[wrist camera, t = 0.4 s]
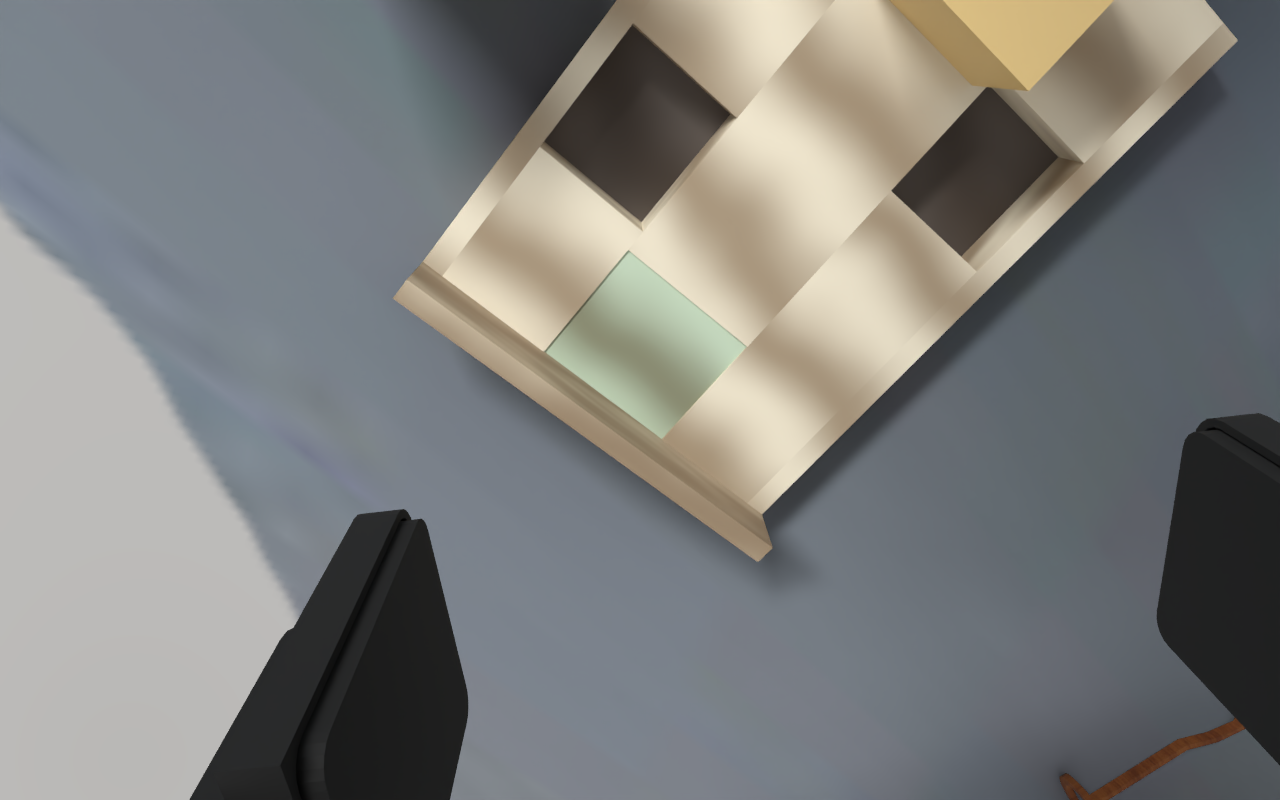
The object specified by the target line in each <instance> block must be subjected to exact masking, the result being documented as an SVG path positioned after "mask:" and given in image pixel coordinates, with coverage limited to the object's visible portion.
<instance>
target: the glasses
mask: <svg viewBox="0 0 1280 800" xmlns="http://www.w3.org/2000/svg"><path fill="white" fill-rule="evenodd" d="M1244 729H1245V727H1244V726H1243V725H1242V724H1241V723H1240V722H1239V721H1238V720H1237V719H1236V718H1234V721H1232V722H1229V723H1227V724H1225V725H1222V726H1220V727H1218V728H1215V729H1213V730H1211V731H1208V732H1205V733H1201V734H1197V735H1193V736H1189V737H1185V738H1181V739H1177V740H1176V741H1174V742H1173V743H1171V744H1169V745H1168V746H1166V747H1165V748H1163V749H1161V750H1160V751H1158V752H1157V753H1155V754H1154V755H1152V756H1150V757H1149V758H1147V759H1146V760H1144V761H1142V762H1141V763H1139V764H1138V765H1136V766H1134V767H1133V768H1131V769H1130V770H1128V771H1127V772H1125V773H1123V774H1122V775H1120V776H1119V777H1117V778H1115V779H1114V780H1112V781H1111V782H1109V783H1107V784H1106V785H1104V786H1103V787H1101V788H1100V789H1098V790H1096V791H1095V792H1093V793H1092V794H1090V795H1089V794H1088V793H1087V791H1086V790H1085V789H1084V788H1083V787H1082V786H1081V785H1080V784H1079V783H1078V782H1077V781H1076V780H1075V779H1074V778H1072V777H1071V776H1070V775H1069V774H1067V773H1065V774H1063V775H1062V776H1060V782H1061V784H1062V786H1063V788H1064V790H1065V792H1066V794H1067V796H1068V797H1069V799H1070V800H1079V799H1078V798H1077V796H1076V794H1075V792H1074V790H1075V791H1076V792H1077V793H1078V794H1079V795H1080V797H1081V798H1082V799H1083V800H1109V799H1110V798H1112V797H1114V796H1115V795H1117V794H1118V793H1120V792H1121V791H1123V790H1125V789H1126V788H1128V787H1129V786H1131V785H1133V784H1134V783H1136V782H1137V781H1139V780H1141V779H1142V778H1144V777H1145V776H1147V775H1148V774H1150V773H1152V772H1153V771H1155V770H1156V769H1158V768H1160V767H1161V766H1163V765H1164V764H1166V763H1167V762H1169V761H1171V760H1172V759H1174V758H1175V757H1177V756H1179V755H1180V754H1182V753H1183V752H1185V751H1186V750H1189V749H1193V748H1197V747H1201V746H1205V745H1209V744H1212V743H1216V742H1219V741H1221V740H1223V739H1225V738H1227V737H1229V736H1231V735H1234V734H1236V733H1238V732H1240V731H1242V730H1244Z"/></svg>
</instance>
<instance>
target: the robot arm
mask: <svg viewBox="0 0 1280 800" xmlns="http://www.w3.org/2000/svg"><path fill="white" fill-rule="evenodd" d="M1157 623H1158V627H1159V630H1160V633H1161V635H1162V637H1163V639H1164V641H1165V642H1166V643H1167V645H1168V646H1169V647H1170V648H1171V649H1172V650H1173V651H1174V652H1175V654H1176V655H1177V656H1178V657H1179V658H1180V659H1181V660H1182V661H1183V662H1184V663H1185V664H1186V665H1187V666H1188V667H1189V669H1190V670H1191V671H1192V672H1193V673H1194V674H1195V675H1196V676H1197V677H1198V678H1199V679H1200V680H1201V681H1202V682H1203V684H1204V685H1205V686H1206V687H1207V688H1208V689H1209V690H1210V691H1211V692H1212V693H1213V694H1214V695H1215V696H1216V697H1217V699H1218V700H1219V701H1220V702H1221V703H1222V704H1223V705H1224V706H1225V707H1226V708H1227V709H1228V710H1229V711H1230V712H1231V714H1232V715H1233V716H1234V717H1235V718H1236V719H1237V720H1238V721H1239V722H1240V723H1241V724H1242V725H1243V726H1244V727H1245V729H1246V730H1247V731H1248V732H1249V733H1250V734H1251V735H1252V736H1253V737H1254V738H1255V739H1256V740H1257V741H1258V742H1259V744H1260V745H1261V746H1262V747H1263V748H1264V749H1265V750H1266V751H1267V752H1268V753H1269V754H1270V755H1271V756H1272V757H1273V759H1274V760H1275V761H1276V762H1277V763H1278V764H1279V765H1280V423H1278V422H1277V421H1275V420H1273V419H1271V418H1269V417H1268V416H1265V415H1262V414H1259V413H1258V414H1247V415H1238V416H1229V417H1220V418H1212V419H1206V420H1205V421H1203V422H1202V423H1201V424H1200V425H1199V426H1198V428H1197V429H1196V432H1193V433H1191V434H1190V435H1188V437H1187V438H1186V439H1185V442H1184V446H1183V451H1182V457H1181V463H1180V470H1179V476H1178V482H1177V489H1176V495H1175V501H1174V508H1173V514H1172V520H1171V526H1170V533H1169V539H1168V545H1167V552H1166V558H1165V564H1164V571H1163V577H1162V583H1161V589H1160V596H1159V602H1158V608H1157ZM467 718H468V694H467V688H466V684H465V679H464V675H463V671H462V667H461V663H460V659H459V655H458V651H457V647H456V643H455V639H454V635H453V631H452V626H451V622H450V618H449V614H448V610H447V606H446V602H445V598H444V594H443V590H442V586H441V582H440V577H439V573H438V569H437V565H436V561H435V557H434V553H433V549H432V545H431V541H430V537H429V533H428V529H427V526H426V524H425V522H424V520H422V519H416V520H411V517H410V515H409V514H408V512H407V511H406V510H404V509H402V510H393V511H384V512H375V513H366V514H359V515H357V516H356V517H355V519H354V520H353V522H352V524H351V526H350V527H349V529H348V531H347V533H346V535H345V536H344V538H343V540H342V542H341V544H340V545H339V547H338V549H337V551H336V552H335V554H334V556H333V558H332V560H331V561H330V563H329V565H328V567H327V569H326V570H325V572H324V574H323V576H322V578H321V579H320V581H319V583H318V585H317V587H316V588H315V590H314V592H313V594H312V596H311V597H310V599H309V601H308V603H307V605H306V606H305V608H304V610H303V612H302V614H301V615H300V617H299V619H298V621H297V623H296V624H295V626H294V628H292V629H290V630H288V631H287V632H286V633H285V634H284V636H283V637H282V638H281V640H280V641H279V643H278V645H277V646H276V648H275V650H274V652H273V654H272V655H271V657H270V659H269V661H268V662H267V664H266V666H265V668H264V669H263V671H262V673H261V675H260V677H259V678H258V680H257V682H256V684H255V685H254V687H253V689H252V691H251V692H250V694H249V696H248V698H247V699H246V701H245V703H244V705H243V706H242V709H241V710H240V712H239V713H238V715H237V717H236V719H235V720H234V722H233V724H232V726H231V727H230V729H229V731H228V733H227V735H226V736H225V738H224V740H223V742H222V744H221V745H220V747H219V749H218V750H217V752H216V754H215V756H214V757H213V759H212V761H211V763H210V764H209V766H208V768H207V770H206V772H205V773H204V775H203V777H202V779H201V780H200V782H199V784H198V786H197V787H196V789H195V791H194V793H193V794H192V796H191V798H190V800H450V796H451V792H452V787H453V782H454V778H455V773H456V769H457V764H458V760H459V755H460V751H461V746H462V742H463V737H464V732H465V728H466V723H467Z"/></svg>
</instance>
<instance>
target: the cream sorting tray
mask: <svg viewBox="0 0 1280 800" xmlns="http://www.w3.org/2000/svg"><path fill="white" fill-rule="evenodd" d="M1237 41H1238V40H1237V39H1236V37H1235V36H1234V35H1233V34H1232V33H1231V31H1230V30H1229V29H1228V28H1227V27H1226V25H1225V24H1224V23H1223V22H1222V21H1221V19H1220V18H1219V17H1218V16H1217V14H1216V13H1215V12H1214V11H1213V10H1212V8H1211V7H1210V6H1209V5H1208V4H1207V2H1206V1H1205V0H1114V1H1113V2H1112V3H1111V4H1110V5H1109V6H1108V7H1107V8H1106V9H1105V11H1104V12H1103V13H1102V14H1101V15H1100V16H1099V17H1098V18H1097V19H1096V20H1095V21H1094V22H1093V23H1092V24H1091V25H1090V27H1089V28H1088V29H1087V30H1086V31H1085V32H1084V33H1083V34H1082V35H1081V36H1080V37H1079V38H1078V39H1077V40H1076V41H1075V42H1074V44H1073V45H1072V46H1071V47H1070V48H1069V49H1068V50H1067V51H1066V52H1065V53H1064V54H1063V55H1062V56H1061V57H1060V58H1059V60H1058V61H1057V62H1056V63H1055V64H1054V65H1053V66H1052V67H1051V68H1050V69H1049V70H1048V71H1047V72H1046V73H1045V74H1044V76H1043V77H1042V78H1041V79H1040V80H1039V81H1038V82H1037V83H1036V84H1035V85H1034V86H1033V87H1032V88H1031V89H1030V90H1029V91H1022V90H1012V89H1002V88H992V87H981V86H972V85H971V84H970V83H969V82H968V81H967V80H966V79H965V78H964V77H963V76H962V75H961V74H960V73H959V72H958V71H957V70H956V69H955V68H954V67H953V66H952V64H951V63H950V62H949V61H948V60H947V59H946V58H945V57H944V56H943V55H942V54H941V53H940V52H939V51H938V50H937V49H936V48H935V47H934V46H933V45H932V44H931V43H930V42H929V41H928V40H927V39H926V38H925V37H924V36H923V35H922V34H921V33H920V31H919V30H918V29H917V28H916V27H915V26H914V25H913V24H912V23H911V22H910V21H909V20H908V19H907V18H906V17H905V16H904V15H903V14H902V13H901V12H900V11H899V10H898V9H897V8H896V7H895V6H894V5H893V4H892V3H891V2H890V1H889V0H617V1H616V2H615V3H614V5H613V6H612V7H611V9H610V10H609V11H608V13H607V14H606V15H605V17H604V18H603V19H602V21H601V22H600V24H599V25H598V26H597V28H596V29H595V30H594V32H593V33H592V34H591V36H590V37H589V38H588V40H587V41H586V42H585V44H584V45H583V46H582V48H581V49H580V51H579V52H578V53H577V55H576V56H575V57H574V59H573V60H572V61H571V63H570V64H569V65H568V67H567V68H566V69H565V71H564V72H563V73H562V75H561V76H560V78H559V79H558V80H557V82H556V83H555V84H554V86H553V87H552V88H551V90H550V91H549V92H548V94H547V95H546V96H545V98H544V99H543V100H542V102H541V103H540V104H539V106H538V107H537V109H536V110H535V111H534V113H533V114H532V115H531V117H530V118H529V119H528V121H527V122H526V123H525V125H524V126H523V127H522V129H521V130H520V131H519V133H518V134H517V136H516V137H515V138H514V140H513V141H512V142H511V144H510V145H509V146H508V148H507V149H506V150H505V152H504V153H503V154H502V156H501V157H500V158H499V160H498V161H497V163H496V164H495V165H494V167H493V168H492V169H491V171H490V172H489V173H488V175H487V176H486V177H485V179H484V180H483V181H482V183H481V184H480V185H479V187H478V188H477V189H476V191H475V192H474V194H473V195H472V196H471V198H470V199H469V200H468V202H467V203H466V204H465V206H464V207H463V208H462V210H461V211H460V212H459V214H458V215H457V216H456V218H455V219H454V221H453V222H452V223H451V225H450V226H449V227H448V229H447V230H446V231H445V233H444V234H443V235H442V237H441V238H440V239H439V241H438V242H437V243H436V245H435V246H434V248H433V249H432V250H431V252H430V253H429V254H428V256H427V257H426V258H425V260H424V261H423V262H422V263H421V264H420V266H419V267H418V268H417V269H416V270H415V271H414V272H413V273H412V274H411V276H410V277H409V278H408V279H407V280H406V281H405V283H404V284H403V285H402V287H401V288H400V290H399V291H398V292H397V294H396V295H395V296H394V298H393V299H394V300H396V301H397V302H399V303H400V304H401V305H403V306H404V307H405V308H407V309H408V310H410V311H411V312H412V313H414V314H415V315H416V316H418V317H419V318H421V319H422V320H423V321H425V322H426V323H428V324H429V325H430V326H432V327H433V328H434V329H436V330H437V331H439V332H440V333H441V334H443V335H444V336H446V337H447V338H448V339H450V340H451V341H452V342H454V343H455V344H457V345H458V346H459V347H461V348H462V349H464V350H465V351H466V352H468V353H469V354H470V355H472V356H473V357H475V358H476V359H477V360H479V361H480V362H482V363H483V364H484V365H486V366H487V367H488V368H490V369H491V370H493V371H494V372H495V373H497V374H498V375H500V376H501V377H502V378H504V379H505V380H506V381H508V382H509V383H511V384H512V385H513V386H515V387H516V388H518V389H519V390H520V391H522V392H523V393H524V394H526V395H527V396H529V397H530V398H531V399H533V400H534V401H535V402H537V403H538V404H540V405H541V406H542V407H544V408H545V409H547V410H548V411H549V412H551V413H552V414H553V415H555V416H556V417H558V418H559V419H560V420H562V421H563V422H565V423H566V424H567V425H569V426H570V427H571V428H573V429H574V430H576V431H577V432H578V433H580V434H581V435H583V436H584V437H585V438H587V439H588V440H589V441H591V442H592V443H594V444H595V445H596V446H598V447H599V448H601V449H602V450H603V451H605V452H606V453H607V454H609V455H610V456H612V457H613V458H614V459H616V460H617V461H619V462H620V463H621V464H623V465H624V466H625V467H627V468H628V469H630V470H631V471H632V472H634V473H635V474H637V475H638V476H639V477H641V478H642V479H643V480H645V481H646V482H648V483H649V484H650V485H652V486H653V487H655V488H656V489H657V490H659V491H660V492H661V493H663V494H664V495H666V496H667V497H668V498H670V499H671V500H672V501H674V502H675V503H677V504H678V505H679V506H681V507H682V508H684V509H685V510H686V511H688V512H689V513H690V514H692V515H693V516H695V517H696V518H697V519H699V520H700V521H702V522H703V523H704V524H706V525H707V526H708V527H710V528H711V529H713V530H714V531H715V532H717V533H718V534H720V535H721V536H722V537H724V538H725V539H726V540H728V541H729V542H731V543H732V544H733V545H735V546H736V547H738V548H739V549H740V550H742V551H743V552H744V553H746V554H747V555H749V556H750V557H751V558H753V559H754V560H756V561H757V562H759V561H760V560H761V559H762V558H763V557H764V556H765V555H766V554H767V553H768V552H769V551H770V550H771V549H772V544H771V541H770V538H769V535H768V532H767V529H766V526H765V522H764V519H763V516H762V514H763V513H764V512H765V511H766V510H767V509H768V508H769V507H770V506H771V505H772V504H773V503H774V502H775V501H776V500H777V499H778V498H779V497H780V496H781V495H782V494H783V493H784V492H785V491H786V490H787V489H788V488H789V487H790V486H791V485H792V484H793V483H794V482H795V481H796V480H797V479H798V478H799V477H800V476H801V475H802V474H803V473H804V472H805V471H806V470H807V469H808V468H809V467H810V466H811V465H812V464H813V463H814V462H815V461H816V460H817V459H818V458H819V457H820V456H821V455H822V454H823V453H824V452H825V451H826V450H827V449H828V448H829V447H830V446H831V445H832V444H833V443H834V442H835V441H836V440H837V439H838V438H839V437H840V436H841V435H842V434H843V433H844V432H845V431H846V430H847V429H848V428H849V427H850V426H851V425H852V424H853V423H854V422H855V421H856V420H857V419H858V418H859V417H860V416H861V415H862V414H863V413H864V412H865V411H866V410H867V409H868V408H869V407H870V406H871V405H872V404H873V403H874V402H875V401H876V400H877V399H878V398H879V397H880V396H881V395H882V394H883V393H884V392H885V391H886V390H887V389H888V388H889V387H890V386H891V385H892V384H893V383H894V382H895V381H896V380H897V379H898V378H899V377H900V376H901V375H902V374H903V373H904V372H905V371H907V370H908V369H909V368H910V367H911V366H912V365H913V364H914V363H915V362H916V361H917V360H918V359H919V358H920V357H921V356H922V355H923V354H924V353H925V352H926V351H927V350H928V349H929V348H930V347H931V346H932V345H933V344H934V343H935V342H936V341H937V340H938V339H939V338H940V337H941V336H942V335H943V334H944V333H945V332H946V331H947V330H948V329H949V328H950V327H951V326H952V325H953V324H954V323H955V322H956V321H957V320H958V319H959V318H960V317H961V316H962V315H963V314H964V313H965V312H966V311H967V310H968V309H969V308H970V307H971V306H972V305H973V304H974V303H975V302H976V301H977V300H978V299H979V298H980V297H981V296H982V295H983V294H984V293H985V292H986V291H987V290H988V289H989V288H990V287H991V286H992V285H993V284H994V283H995V282H996V281H997V280H998V279H999V278H1000V277H1001V276H1002V275H1003V274H1004V273H1005V272H1006V271H1007V270H1008V269H1009V268H1010V267H1011V266H1012V265H1013V264H1014V263H1015V262H1016V261H1017V260H1018V259H1019V258H1020V257H1021V256H1022V255H1023V254H1024V253H1025V252H1026V251H1027V250H1028V249H1029V248H1030V247H1031V246H1032V245H1033V244H1034V243H1035V242H1036V241H1037V240H1038V239H1039V238H1040V237H1041V236H1042V235H1043V234H1044V233H1045V232H1046V231H1047V230H1048V229H1049V228H1050V227H1051V226H1052V225H1053V224H1054V223H1055V222H1056V221H1057V220H1058V219H1059V218H1060V217H1061V216H1062V215H1063V214H1064V213H1065V212H1066V211H1067V210H1068V209H1069V208H1070V207H1071V206H1072V205H1073V204H1074V203H1075V202H1076V201H1077V200H1078V199H1079V198H1080V197H1081V196H1082V195H1083V194H1084V193H1085V192H1086V191H1087V190H1088V189H1089V188H1090V187H1091V186H1092V185H1093V184H1094V183H1095V182H1096V181H1097V180H1098V179H1099V178H1100V177H1101V176H1102V175H1103V174H1104V173H1105V172H1106V171H1107V170H1108V169H1109V168H1110V167H1111V166H1112V165H1113V164H1114V163H1115V162H1116V161H1117V160H1118V159H1119V158H1120V157H1121V156H1122V155H1123V154H1124V153H1125V152H1126V151H1127V150H1128V149H1129V148H1130V147H1131V146H1132V145H1133V144H1134V143H1135V142H1136V141H1137V140H1138V139H1139V138H1140V137H1141V136H1142V135H1143V134H1144V133H1145V132H1146V131H1147V130H1148V129H1149V128H1151V127H1152V126H1153V125H1154V124H1155V123H1156V122H1157V121H1158V120H1159V119H1160V118H1161V117H1162V116H1163V115H1164V114H1165V113H1166V112H1167V111H1168V110H1169V109H1170V108H1171V107H1172V106H1173V105H1174V104H1175V103H1176V102H1177V101H1178V100H1179V99H1180V98H1181V97H1182V96H1183V95H1184V94H1185V93H1186V92H1187V91H1188V90H1189V89H1190V88H1191V87H1192V86H1193V85H1194V84H1195V83H1196V82H1197V81H1198V80H1199V79H1200V78H1201V77H1202V76H1203V75H1204V74H1205V73H1206V72H1207V71H1208V70H1209V69H1210V68H1211V67H1212V66H1213V65H1214V64H1215V63H1216V62H1217V61H1218V60H1219V59H1220V58H1221V57H1222V56H1223V55H1224V54H1225V53H1226V52H1227V51H1228V50H1229V49H1230V48H1231V47H1232V46H1233V45H1234V44H1235V43H1236V42H1237Z"/></svg>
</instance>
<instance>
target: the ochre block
mask: <svg viewBox="0 0 1280 800" xmlns="http://www.w3.org/2000/svg"><path fill="white" fill-rule="evenodd" d="M889 1H890V2H891V3H892V4H893V5H894V6H895V7H896V8H897V9H898V10H899V11H900V12H901V13H902V14H903V15H904V16H905V17H906V18H907V19H908V20H909V21H910V22H911V23H912V24H913V25H914V26H915V27H916V28H917V29H918V30H919V31H920V33H921V34H922V35H923V36H924V37H925V38H926V39H927V40H928V41H929V42H930V43H931V44H932V45H933V46H934V47H935V48H936V49H937V50H938V51H939V52H940V53H941V54H942V55H943V56H944V57H945V58H946V59H947V60H948V61H949V62H950V63H951V64H952V66H953V67H954V68H955V69H956V70H957V71H958V72H959V73H960V74H961V75H962V76H963V77H964V78H965V79H966V80H967V81H968V82H969V83H970V84H971V85H972V86H981V87H992V88H1002V89H1012V90H1022V91H1029V90H1030V89H1031V88H1032V87H1033V86H1034V85H1035V84H1036V83H1037V82H1038V81H1039V80H1040V79H1041V78H1042V77H1043V76H1044V74H1045V73H1046V72H1047V71H1048V70H1049V69H1050V68H1051V67H1052V66H1053V65H1054V64H1055V63H1056V62H1057V61H1058V60H1059V58H1060V57H1061V56H1062V55H1063V54H1064V53H1065V52H1066V51H1067V50H1068V49H1069V48H1070V47H1071V46H1072V45H1073V44H1074V42H1075V41H1076V40H1077V39H1078V38H1079V37H1080V36H1081V35H1082V34H1083V33H1084V32H1085V31H1086V30H1087V29H1088V28H1089V27H1090V25H1091V24H1092V23H1093V22H1094V21H1095V20H1096V19H1097V18H1098V17H1099V16H1100V15H1101V14H1102V13H1103V12H1104V11H1105V9H1106V8H1107V7H1108V6H1109V5H1110V4H1111V3H1112V2H1113V1H1114V0H889Z"/></svg>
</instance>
